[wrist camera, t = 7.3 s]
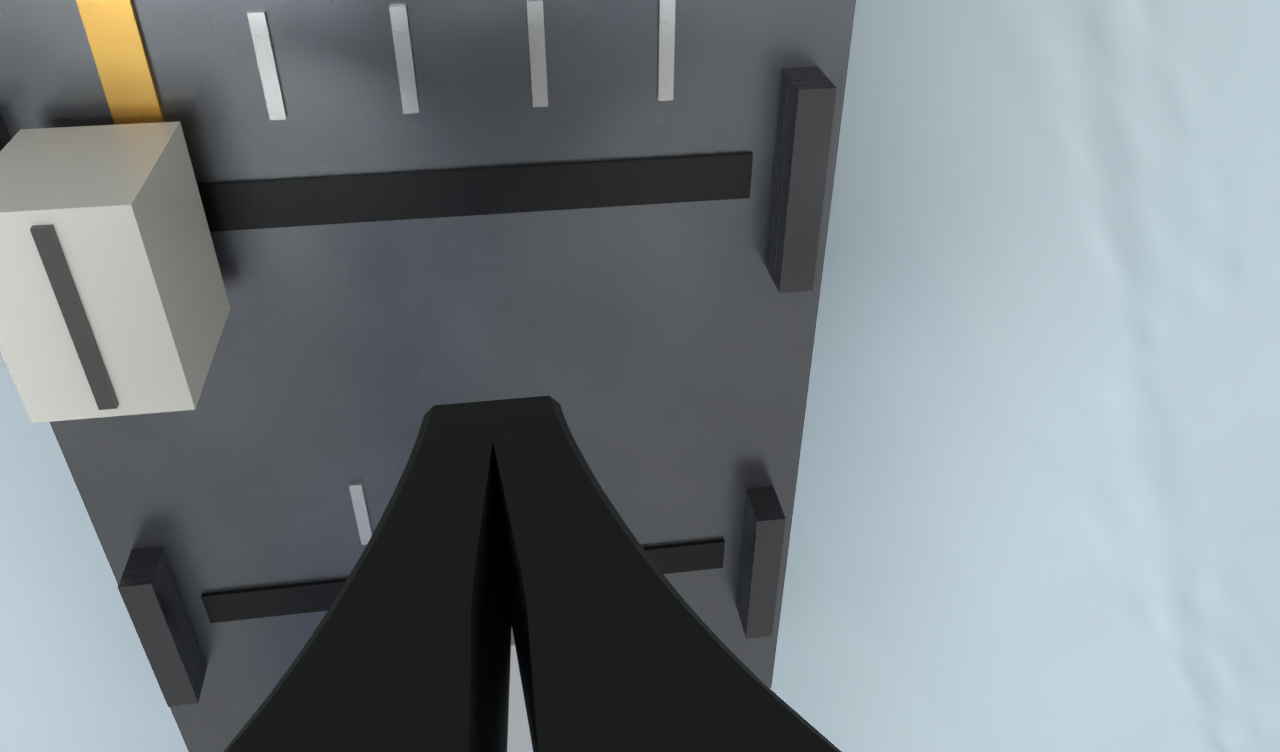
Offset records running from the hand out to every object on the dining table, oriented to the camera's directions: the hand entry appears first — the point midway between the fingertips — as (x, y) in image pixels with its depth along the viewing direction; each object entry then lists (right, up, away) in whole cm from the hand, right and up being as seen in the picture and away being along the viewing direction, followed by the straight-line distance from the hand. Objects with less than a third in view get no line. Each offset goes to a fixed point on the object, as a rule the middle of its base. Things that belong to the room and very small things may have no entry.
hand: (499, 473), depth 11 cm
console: (-2, +2, +10) cm, 10 cm away
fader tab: (-6, +3, +5) cm, 9 cm away
